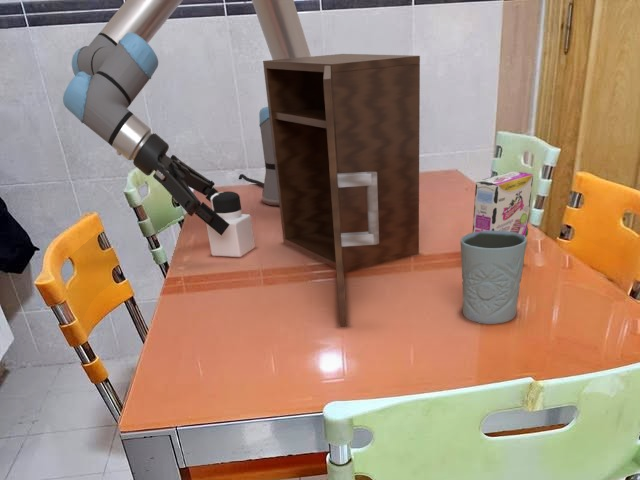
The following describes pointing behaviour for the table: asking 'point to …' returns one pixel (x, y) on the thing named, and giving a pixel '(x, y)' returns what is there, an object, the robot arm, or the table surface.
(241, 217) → the medicine bottle
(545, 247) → the table surface
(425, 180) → the table surface
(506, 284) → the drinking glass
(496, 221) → the food carton
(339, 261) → the cupboard door
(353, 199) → the cupboard
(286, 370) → the table surface
